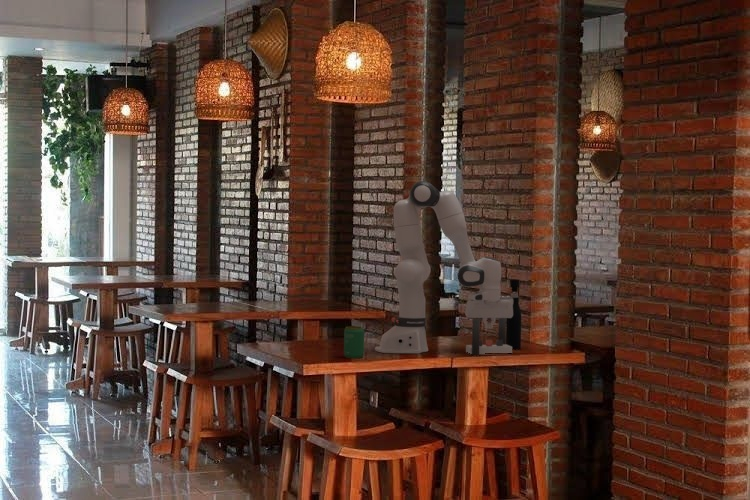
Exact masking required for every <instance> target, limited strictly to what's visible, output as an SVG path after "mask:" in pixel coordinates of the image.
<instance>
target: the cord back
mask: <svg viewBox="0 0 750 500" xmlns="http://www.w3.org/2000/svg"><path fill="white" fill-rule="evenodd" d="M497 340H503V345H506V318H498V339H497Z"/></svg>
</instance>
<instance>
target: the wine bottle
mask: <svg viewBox="0 0 750 500" xmlns="http://www.w3.org/2000/svg"><path fill="white" fill-rule="evenodd" d="M509 282H510V283H509V287H510V288H511V293H510V297H512V298H513V317H512V318H506V336H505V345H509V346H512V349H519V350H521V347H522V341H521V339H522V310H521V308H520V304H519V302H520V301H519V300H520V299H519V293H518V291H519V290H518V288H520V279H512V278H511V279H510V281H509ZM510 299H511V298H510Z"/></svg>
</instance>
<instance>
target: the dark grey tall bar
mask: <svg viewBox="0 0 750 500" xmlns="http://www.w3.org/2000/svg"><path fill="white" fill-rule="evenodd" d="M471 328H472V331H471V332H472V334H471V345H472V355H479V356H480V354H479V340H481V339H480V333H481V332H480V331H481V329H480V328H481V318H472V327H471ZM472 355H471V356H472Z"/></svg>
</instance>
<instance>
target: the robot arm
mask: <svg viewBox="0 0 750 500" xmlns="http://www.w3.org/2000/svg"><path fill="white" fill-rule="evenodd" d="M428 207H429V208H432V209H433V210H434V213H435V214H436V219H437V221H438V225H439V227H440V229H441V231H442V233H443V235H444V236H445V238H447V239H448V240H450V242H451V243H452V245H453V246H454V248H455V251H456V254H457V257H458V260H459V263H460V268H459V270H458V272H457V279H458V282H459V283H460V284H461V285H462V286H464V287H467V288H473V287H476V286H479V290H477V291H475V292H472V293H469V294H468V296H467V298H468V300H467V301H466V304H465V314H464V315H465V316H466V318H468V319H482V322H483V323H484V329H486V330H487V329H488V330H491V329H492V330H493V328H494V324H495V322H496V319H499V318H512V317H513V298H512V297H511V295H502V294H501V293H502V287H501V280H502V263H501V261H499V260H500V259H498V258H495V257H491V256H483V257H481V258H479V259H478V260H476V258H475V255H474V253H473V250H472V247H471V245H470V241H469V237H468V229H467V228H468V227H467V222H466V218H465V213H464V211H463V208H462V205H461V203H460V201H459V199H458V198H457V196H456V193H454V191H451V190H443V191H439V190H438V189H437V188H436V187H435V186H434V185H433V184H432V183H430V182H428V181H426V180H420V181H417V182H415V183H414V184H413V185H412V186H411V187H410V191H409V195H408V197H407V198H406V199H401V200H399V201H397V202H396V203H395V204H394V206H393V229H394V236H395V243H396V244H395V245H396V247H397V249H398V251H399V255H400V258H401V261H400V262H399V263H398V264H397V265H396V267H395V269H394V276H395V279H396V285H397V290H398V298H399V299H398V300H399V303H398V305H399V307H398V308H399V310H398V316H397V317H395V316H394V317H392V318H391V322H392V323H394V324H393V325H394V326H392V327H391V328H390V329H389V330H387V331H386V332H385V333H383V334H382V335H381V339H380V343H379V346H375V348H374V350H375V351H376V352H379V353H383V354H421V353H426V352H428V351H429V348H428V343H427V334H426V332H427V331H426V330H427V317H426V302H427V301H426V296H425V292H424V285H423V283H424V282H426V281H427V279H428V278H429V277H430V274H431V271H432V270H431V265H430V264H429V262H428V261H429V259H428V257H427V253H426V250H425V246H424V243H423V237H422V236H423V235H422V228H421V220H420V211H422V210H423V209H426V208H428ZM510 298H511V299H510ZM488 319H490V323H488V322H487V321H488Z"/></svg>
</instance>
